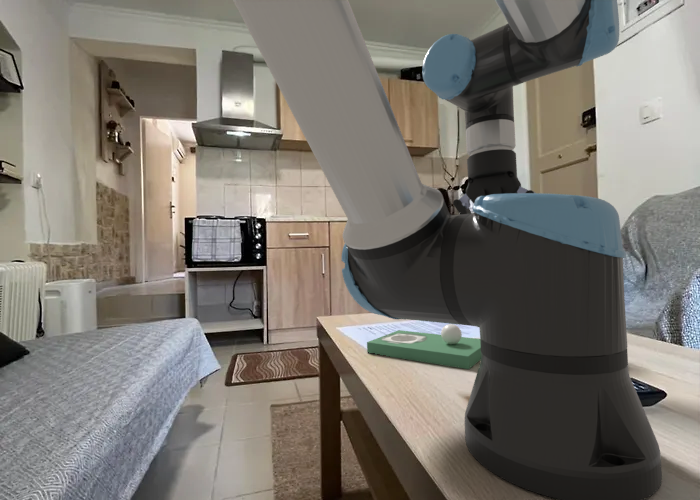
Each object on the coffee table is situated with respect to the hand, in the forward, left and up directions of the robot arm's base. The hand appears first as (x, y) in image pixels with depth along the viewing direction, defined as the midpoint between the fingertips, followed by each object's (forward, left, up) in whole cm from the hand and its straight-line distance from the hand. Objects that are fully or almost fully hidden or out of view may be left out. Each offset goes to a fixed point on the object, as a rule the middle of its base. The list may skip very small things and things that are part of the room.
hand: (497, 296), depth 60 cm
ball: (0, +8, -7) cm, 11 cm away
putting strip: (0, +13, -11) cm, 16 cm away
